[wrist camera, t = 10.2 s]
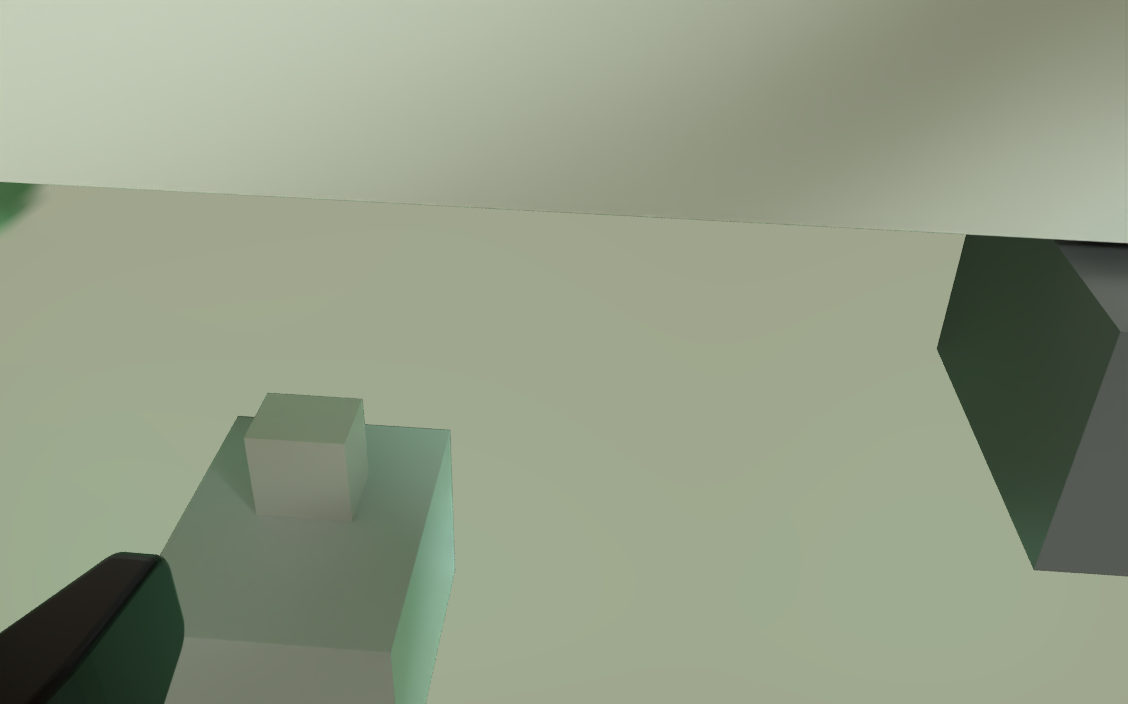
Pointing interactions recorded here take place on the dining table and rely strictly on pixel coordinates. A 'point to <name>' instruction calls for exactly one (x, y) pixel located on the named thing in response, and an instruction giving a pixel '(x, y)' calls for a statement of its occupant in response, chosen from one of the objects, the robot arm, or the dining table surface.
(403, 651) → the block
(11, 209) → the dining table surface
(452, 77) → the power strip
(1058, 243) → the block
